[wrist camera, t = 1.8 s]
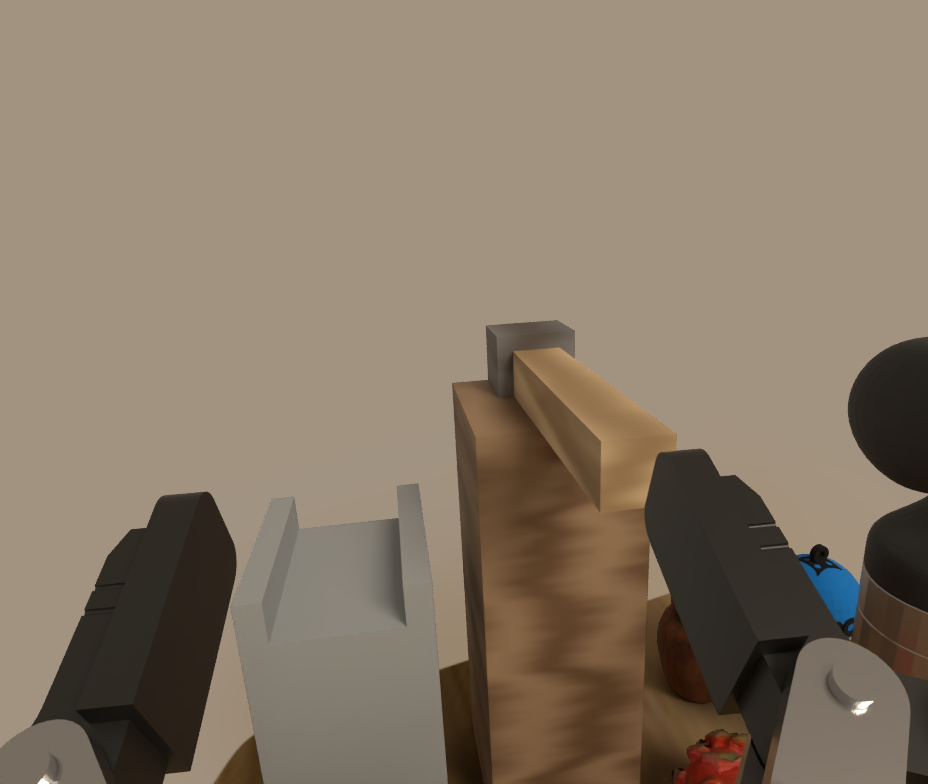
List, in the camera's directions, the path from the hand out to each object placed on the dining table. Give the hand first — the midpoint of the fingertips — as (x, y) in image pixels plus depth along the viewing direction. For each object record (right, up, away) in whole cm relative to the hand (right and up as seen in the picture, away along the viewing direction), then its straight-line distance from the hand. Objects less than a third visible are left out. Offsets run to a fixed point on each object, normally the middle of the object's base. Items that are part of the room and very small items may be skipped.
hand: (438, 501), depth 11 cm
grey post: (-6, -29, +32) cm, 43 cm away
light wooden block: (+6, 0, +22) cm, 23 cm away
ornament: (+34, -22, +48) cm, 63 cm away
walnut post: (+7, -27, +36) cm, 45 cm away
